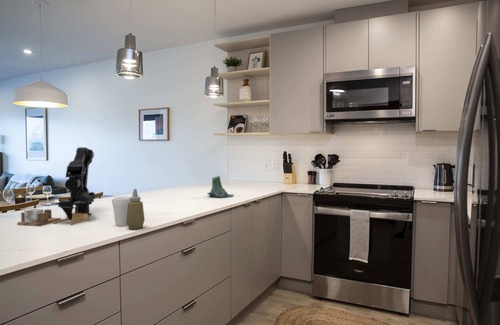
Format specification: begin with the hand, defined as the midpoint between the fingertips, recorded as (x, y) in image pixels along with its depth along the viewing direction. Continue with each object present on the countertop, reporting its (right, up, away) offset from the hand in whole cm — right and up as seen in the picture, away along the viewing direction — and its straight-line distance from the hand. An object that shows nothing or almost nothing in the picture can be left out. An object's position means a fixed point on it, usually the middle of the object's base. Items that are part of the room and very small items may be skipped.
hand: (77, 218), depth 172 cm
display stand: (-16, -1, -6) cm, 17 cm away
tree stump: (+66, +2, +84) cm, 107 cm away
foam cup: (+27, -2, -10) cm, 29 cm away
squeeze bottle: (+36, -2, -18) cm, 40 cm away
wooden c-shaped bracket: (-1, -1, -4) cm, 5 cm away
